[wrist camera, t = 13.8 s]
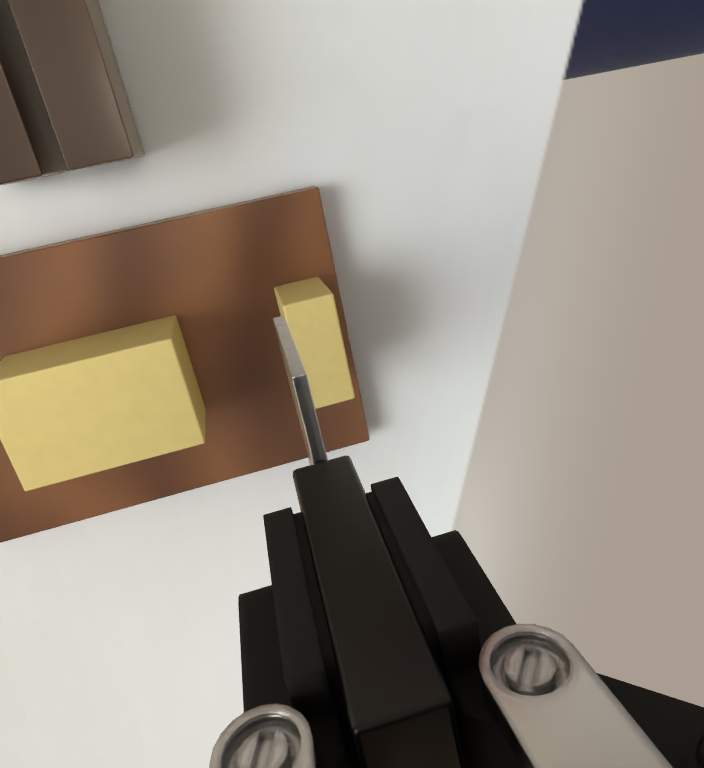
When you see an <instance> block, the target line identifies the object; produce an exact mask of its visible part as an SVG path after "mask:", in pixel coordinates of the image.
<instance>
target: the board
mask: <svg viewBox="0 0 704 768" xmlns="http://www.w3.org/2000/svg"><path fill="white" fill-rule="evenodd" d="M313 277H319V278H320V279H321V280H322V282H323V283H324V284H325V285H326V286H327V287H328V289H329V290H330V291H331V292H332V293H333V295H334V299H335V304H336V309H337V314H338V318H339V323H340V328H341V333H342V337H343V342H344V347H345V352H346V357H347V361H348V366H349V371H350V376H351V380H352V385H353V390H354V395H355V398H354V399H350V400H347V401H343V402H339V403H336V404H332V405H328V406H324V407H321V408H317V409H315V410H316V414H317V418H318V422H319V427H320V431H321V435H322V439H323V443H324V447H325V451H326V452H329V451H332V450H336V449H340V448H343V447H347V446H350V445H354V444H358V443H361V442H365V441H368V440H369V434H368V429H367V424H366V420H365V415H364V410H363V405H362V400H361V395H360V390H359V385H358V380H357V375H356V370H355V365H354V361H353V356H352V351H351V346H350V341H349V336H348V331H347V326H346V321H345V316H344V311H343V307H342V302H341V297H340V292H339V287H338V282H337V277H336V272H335V267H334V262H333V257H332V253H331V248H330V243H329V238H328V233H327V228H326V223H325V218H324V213H323V208H322V203H321V199H320V194H319V189H318V188H317V187H314V186H313V187H308V188H304V189H299V190H295V191H290V192H286V193H281V194H277V195H272V196H268V197H263V198H259V199H254V200H250V201H245V202H240V203H236V204H231V205H227V206H222V207H218V208H213V209H209V210H204V211H200V212H195V213H191V214H186V215H182V216H177V217H172V218H168V219H163V220H159V221H154V222H150V223H145V224H141V225H136V226H132V227H127V228H123V229H118V230H114V231H109V232H105V233H100V234H95V235H91V236H86V237H82V238H77V239H73V240H68V241H64V242H59V243H55V244H50V245H46V246H41V247H37V248H32V249H27V250H23V251H18V252H14V253H9V254H5V255H0V361H1V360H2V359H3V358H4V357H5V356H8V355H12V354H16V353H20V352H24V351H29V350H33V349H37V348H41V347H45V346H49V345H54V344H58V343H62V342H66V341H70V340H74V339H78V338H83V337H87V336H91V335H95V334H99V333H103V332H108V331H112V330H116V329H120V328H124V327H128V326H132V325H137V324H141V323H145V322H149V321H153V320H157V319H162V318H166V317H170V316H174V315H175V316H176V317H177V320H178V323H179V326H180V329H181V333H182V336H183V339H184V342H185V345H186V348H187V352H188V355H189V358H190V361H191V364H192V367H193V371H194V374H195V377H196V380H197V383H198V386H199V389H200V393H201V396H202V399H203V402H204V405H205V408H206V415H205V443H204V444H200V445H197V446H193V447H189V448H185V449H182V450H178V451H174V452H170V453H167V454H163V455H159V456H156V457H152V458H148V459H144V460H141V461H137V462H133V463H129V464H126V465H122V466H118V467H115V468H111V469H107V470H103V471H100V472H96V473H92V474H89V475H85V476H81V477H77V478H74V479H70V480H66V481H62V482H59V483H55V484H51V485H48V486H44V487H40V488H36V489H33V490H29V491H25V490H24V488H23V486H22V484H21V482H20V480H19V478H18V476H17V474H16V471H15V469H14V467H13V465H12V463H11V461H10V459H9V457H8V454H7V452H6V450H5V448H4V446H3V444H2V442H1V440H0V542H4V541H8V540H11V539H15V538H18V537H22V536H26V535H29V534H33V533H37V532H40V531H44V530H47V529H51V528H55V527H58V526H62V525H65V524H69V523H73V522H76V521H80V520H83V519H87V518H91V517H94V516H98V515H101V514H105V513H109V512H112V511H116V510H119V509H123V508H127V507H130V506H134V505H138V504H141V503H145V502H148V501H152V500H156V499H159V498H163V497H166V496H170V495H174V494H177V493H181V492H184V491H188V490H192V489H195V488H199V487H202V486H206V485H210V484H213V483H217V482H221V481H224V480H228V479H231V478H235V477H239V476H242V475H246V474H249V473H253V472H257V471H260V470H264V469H267V468H271V467H275V466H278V465H282V464H285V463H289V462H293V461H296V460H300V459H303V458H307V457H308V454H307V450H306V446H305V442H304V439H303V435H302V431H301V427H300V423H299V419H298V415H297V411H296V408H295V404H294V400H293V396H292V392H291V388H290V384H289V380H288V377H287V373H286V369H285V365H284V361H283V357H282V353H281V350H280V346H279V342H278V338H277V334H276V330H275V326H274V322H273V318H276V317H280V316H281V315H280V311H279V307H278V303H277V299H276V295H275V291H274V287H276V286H280V285H284V284H288V283H292V282H297V281H301V280H305V279H309V278H313Z"/></svg>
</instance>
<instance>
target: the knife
mask: <svg viewBox="0 0 704 768" xmlns="http://www.w3.org/2000/svg"><path fill="white" fill-rule="evenodd" d="M273 322H274V326H275V330H276V334H277V338H278V342H279V346H280V350H281V353H282V357H283V361H284V365H285V369H286V373H287V377H288V380H289V384H290V388H291V392H292V396H293V400H294V404H295V408H296V411H297V415H298V419H299V423H300V427H301V431H302V435H303V439H304V442H305V446H306V450H307V454H308V458H309V462H310V466H306V467H303V468H299V469H296V470H294V471H293V479H294V483H295V487H296V492H297V496H298V500H299V505H300V509H301V513H302V518H303V522H304V527H305V531H306V535H307V540H308V544H309V548H310V553H311V557H312V561H313V566H314V570H315V575H316V579H317V583H318V588H319V592H320V596H321V600H322V605H323V609H324V613H325V618H326V622H327V626H328V631H329V635H330V639H331V644H332V648H333V653H334V657H335V662H336V666H337V671H338V675H339V679H340V684H341V688H342V692H343V697H344V701H345V705H346V710H347V714H348V719H349V723H350V727H351V732H352V735H353V739H354V742H355V746H356V749H357V753H358V756H359V760H360V763H361V767H362V768H465V766H464V761H463V755H462V750H461V744H460V739H459V733H458V728H457V722H456V717H455V712H454V706H453V701H452V697H451V694H450V692H449V690H448V687H447V685H446V683H445V680H444V678H443V676H442V673H441V671H440V668H439V666H438V664H437V661H436V659H435V657H434V654H433V652H432V650H431V647H430V645H429V642H428V640H427V638H426V635H425V633H424V631H423V628H422V626H421V624H420V621H419V619H418V617H417V614H416V612H415V610H414V607H413V605H412V602H411V600H410V598H409V595H408V593H407V591H406V588H405V586H404V583H403V581H402V579H401V576H400V574H399V572H398V569H397V567H396V564H395V562H394V560H393V557H392V555H391V553H390V550H389V548H388V546H387V543H386V541H385V538H384V536H383V534H382V531H381V529H380V527H379V524H378V522H377V519H376V517H375V515H374V512H373V510H372V508H371V505H370V503H369V501H368V498H367V496H366V493H365V491H364V489H363V486H362V484H361V482H360V479H359V477H358V475H357V472H356V470H355V467H354V465H353V463H352V460H351V458H350V457H349V456H342V457H339V458H335V459H332V460H328V459H327V455H326V451H325V447H324V443H323V439H322V435H321V431H320V427H319V422H318V418H317V414H316V410H315V406H314V402H313V398H312V394H311V390H310V386H309V382H308V377H307V374H306V371H305V368H304V366H303V363H302V361H301V358H300V356H299V353H298V350H297V348H296V345H295V343H294V340H293V337H292V335H291V332H290V330H289V327H288V325H287V322H286V319H285V317H284V316H280V317H276V318H273Z"/></svg>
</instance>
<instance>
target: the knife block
mask: <svg viewBox="0 0 704 768" xmlns="http://www.w3.org/2000/svg"><path fill="white" fill-rule="evenodd" d="M8 2H9V4H8ZM9 5H10V7H9ZM10 8H11V9H10ZM11 11H12V12H11ZM12 14H13V15H12ZM13 17H14V18H13ZM14 19H15V21H14ZM15 22H16V24H15ZM16 25H17V26H16ZM17 28H18V29H17ZM18 31H19V32H18ZM19 34H20V35H19ZM20 36H21V38H20ZM21 39H22V41H21ZM22 42H23V43H22ZM23 45H24V46H23ZM24 48H25V49H24ZM25 51H26V52H25ZM26 53H27V55H26ZM27 56H28V57H27ZM28 59H29V60H28ZM29 62H30V63H29ZM30 65H31V66H30ZM31 67H32V69H31ZM32 70H33V72H32ZM33 73H34V74H33ZM34 76H35V77H34ZM35 79H36V80H35ZM36 82H37V83H36ZM37 84H38V86H37ZM38 87H39V89H38ZM39 90H40V91H39ZM40 93H41V94H40ZM41 96H42V97H41ZM42 99H43V100H42ZM43 101H44V103H43ZM44 104H45V105H44ZM45 107H46V108H45ZM46 110H47V111H46ZM47 113H48V114H47ZM48 116H49V117H48ZM49 118H50V120H49ZM50 121H51V122H50ZM51 124H52V125H51ZM52 127H53V128H52ZM53 130H54V131H53ZM54 132H55V134H54ZM55 135H56V137H55ZM56 138H57V139H56ZM57 141H58V142H57ZM58 144H59V145H58ZM59 147H60V148H59ZM60 149H61V151H60ZM61 152H62V153H61ZM62 155H63V156H62ZM144 155H145V154H144V150H143V147H142V144H141V140H140V137H139V134H138V131H137V127H136V124H135V121H134V117H133V114H132V111H131V108H130V104H129V101H128V98H127V94H126V91H125V88H124V85H123V81H122V78H121V75H120V71H119V68H118V65H117V62H116V58H115V55H114V52H113V48H112V45H111V42H110V39H109V35H108V32H107V29H106V25H105V22H104V19H103V15H102V12H101V9H100V6H99V2H98V0H8V1H7V0H0V185H5V184H11V183H15V182H20V181H25V180H30V179H35V178H40V177H44V176H49V175H54V174H59V173H64V172H67V169H68V170H75V169H81V168H87V167H93V166H98V165H102V164H107V163H112V162H117V161H122V160H127V159H131V158H136V157H141V156H144ZM63 158H64V159H63ZM64 161H65V162H64ZM65 164H66V165H65ZM66 166H67V168H66Z"/></svg>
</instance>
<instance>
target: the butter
mask: <svg viewBox="0 0 704 768" xmlns="http://www.w3.org/2000/svg"><path fill="white" fill-rule="evenodd" d="M205 415H206V408H205V405H204V402H203V399H202V396H201V393H200V389H199V386H198V383H197V380H196V377H195V374H194V371H193V367H192V364H191V361H190V358H189V355H188V352H187V348H186V345H185V342H184V339H183V336H182V333H181V329H180V326H179V323H178V320H177V317H176V316H175V315H174V316H170V317H166V318H162V319H157V320H153V321H149V322H145V323H141V324H137V325H132V326H128V327H124V328H120V329H116V330H112V331H108V332H103V333H99V334H95V335H91V336H87V337H83V338H78V339H74V340H70V341H66V342H62V343H58V344H54V345H49V346H45V347H41V348H37V349H33V350H29V351H24V352H20V353H16V354H12V355H8V356H5V357H4V358H3V359H2V360H1V361H0V440H1V442H2V444H3V446H4V448H5V450H6V452H7V454H8V457H9V459H10V461H11V463H12V465H13V467H14V469H15V471H16V474H17V476H18V478H19V480H20V482H21V484H22V486H23V488H24V490H25V491H29V490H33V489H36V488H40V487H44V486H48V485H51V484H55V483H59V482H62V481H66V480H70V479H74V478H77V477H81V476H85V475H89V474H92V473H96V472H100V471H103V470H107V469H111V468H115V467H118V466H122V465H126V464H129V463H133V462H137V461H141V460H144V459H148V458H152V457H156V456H159V455H163V454H167V453H170V452H174V451H178V450H182V449H185V448H189V447H193V446H197V445H200V444H204V443H205Z"/></svg>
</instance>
